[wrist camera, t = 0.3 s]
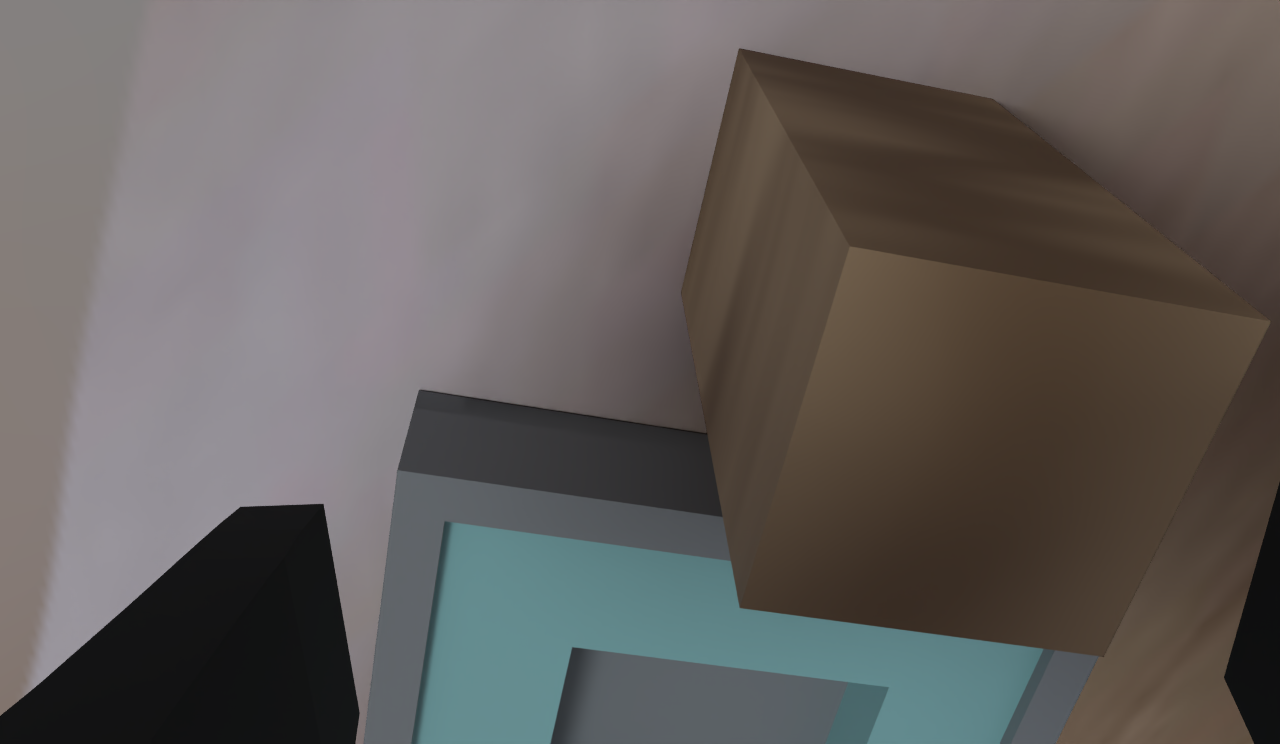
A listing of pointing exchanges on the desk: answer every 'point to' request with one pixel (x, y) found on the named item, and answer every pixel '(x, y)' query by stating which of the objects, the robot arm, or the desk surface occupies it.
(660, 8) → the desk surface
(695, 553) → the socket box
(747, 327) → the peg
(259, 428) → the desk surface
